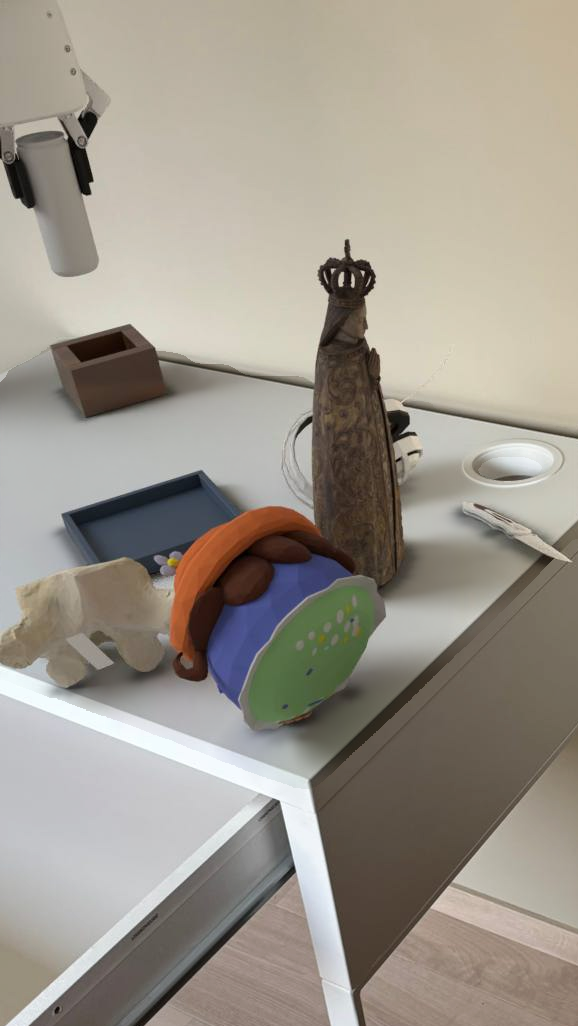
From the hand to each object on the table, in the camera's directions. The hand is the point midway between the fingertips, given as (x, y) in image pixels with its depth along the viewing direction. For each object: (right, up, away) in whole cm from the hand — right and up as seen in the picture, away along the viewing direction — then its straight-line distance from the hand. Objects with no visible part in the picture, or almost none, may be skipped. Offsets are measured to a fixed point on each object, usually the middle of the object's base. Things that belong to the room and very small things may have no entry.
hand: (56, 196), depth 115 cm
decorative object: (+9, -41, -29) cm, 51 cm away
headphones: (+32, -29, -7) cm, 44 cm away
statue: (+31, -40, -19) cm, 54 cm away
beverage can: (+1, -5, +5) cm, 7 cm away
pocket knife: (+42, -37, -18) cm, 59 cm away
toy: (+31, -50, -38) cm, 70 cm away
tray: (+13, -35, -11) cm, 39 cm away
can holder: (+2, -14, +14) cm, 20 cm away
